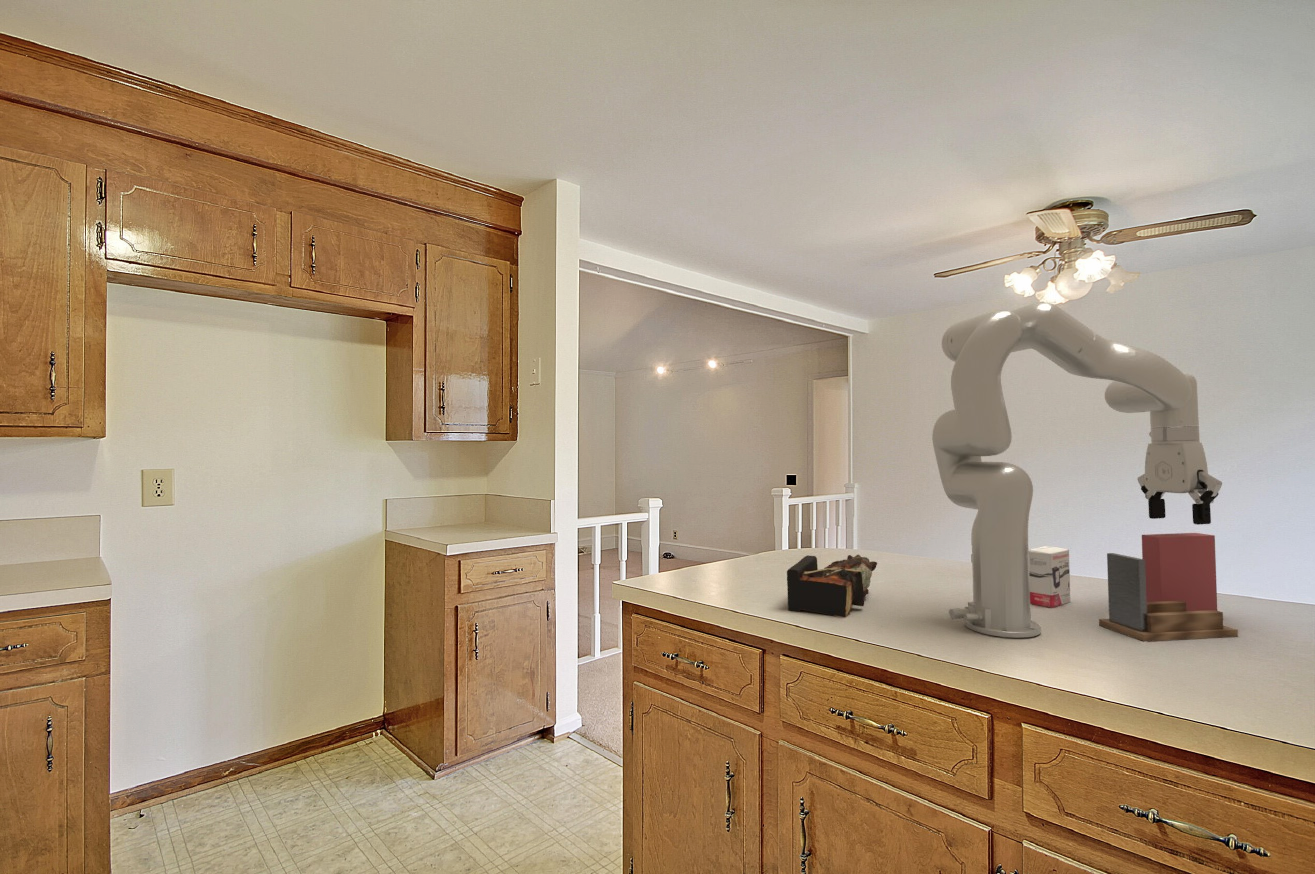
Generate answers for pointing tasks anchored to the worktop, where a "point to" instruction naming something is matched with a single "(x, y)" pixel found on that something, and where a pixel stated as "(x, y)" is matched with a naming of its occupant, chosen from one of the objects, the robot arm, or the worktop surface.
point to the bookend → (829, 585)
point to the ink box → (1049, 576)
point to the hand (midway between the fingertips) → (1178, 521)
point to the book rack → (1176, 623)
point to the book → (1181, 569)
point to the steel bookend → (1127, 591)
